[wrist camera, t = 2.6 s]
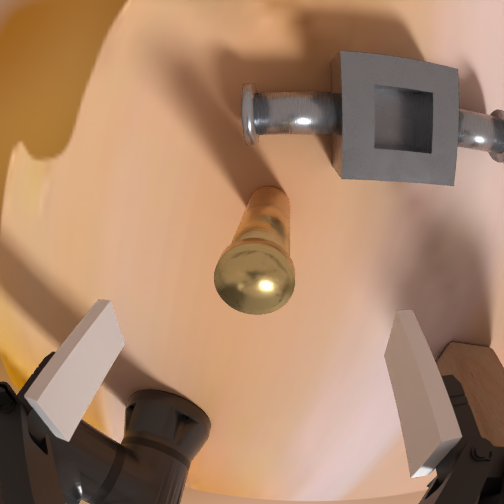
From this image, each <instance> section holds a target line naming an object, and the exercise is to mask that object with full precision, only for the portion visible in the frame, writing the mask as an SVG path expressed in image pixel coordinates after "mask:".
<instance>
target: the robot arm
mask: <svg viewBox="0 0 504 504" xmlns="http://www.w3.org/2000/svg"><path fill="white" fill-rule="evenodd" d="M124 345H125V340H124V338H123V335H122V332H121V329H120V327H119V324H118V321H117V318H116V315H115V312H114V309H113V306H112V303H111V301H109V300H99V299H98V300H97V302H96V303H95V304H94V305H93V306H92V308H91V309H90V310H89V311H88V312H87V314H86V315H85V316H84V317H83V319H82V320H81V321H80V322H79V323H78V325H77V326H76V327H75V328H74V330H73V331H72V332H71V333H70V335H69V336H68V337H67V338H66V340H65V341H64V342H63V344H62V345H61V346H60V347H59V349H58V350H57V351H56V352H52V353H50V354H49V355H48V356H46V357H45V358H44V359H43V361H42V362H41V363H40V364H39V367H37V368H36V370H35V371H34V374H32V375H31V376H30V378H29V379H28V381H27V382H26V383H25V385H24V386H23V387H22V389H21V390H20V392H19V393H18V394H17V395H16V394H15V392H14V391H13V390H12V388H11V387H10V385H9V384H8V383H7V382H0V504H79V502H80V500H84V501H86V502H88V503H90V504H180V502H181V497H182V494H183V490H184V487H185V483H186V479H187V475H188V471H189V467H190V464H191V461H192V460H193V459H194V457H195V456H196V454H197V453H198V452H199V450H200V449H201V448H202V446H203V445H204V443H205V442H206V441H207V439H208V437H209V433H210V429H211V423H210V420H209V418H208V417H207V415H206V414H205V413H204V412H203V411H202V410H201V409H199V408H198V407H197V406H195V405H194V404H192V403H191V402H189V401H187V400H185V399H183V398H181V397H178V396H176V395H173V394H170V393H166V392H162V391H156V390H142V391H138V392H136V393H134V394H133V395H132V396H131V397H130V399H129V401H128V404H127V406H126V410H125V426H124V438H123V440H122V442H121V444H119V443H118V442H116V441H115V440H113V439H111V438H110V437H108V436H107V435H105V434H103V433H102V432H100V431H99V430H97V429H96V428H94V427H93V426H91V425H90V424H88V423H87V422H85V421H84V420H82V417H83V415H84V413H85V411H86V410H87V408H88V406H89V404H90V403H91V401H92V399H93V397H94V396H95V394H96V392H97V390H98V389H99V387H100V385H101V383H102V382H103V380H104V378H105V377H106V375H107V373H108V371H109V370H110V368H111V366H112V365H113V363H114V361H115V360H116V358H117V356H118V355H119V353H120V351H121V350H122V348H123V346H124ZM384 357H385V360H386V364H387V368H388V372H389V376H390V380H391V384H392V388H393V392H394V396H395V400H396V405H397V409H398V413H399V418H400V423H401V428H402V432H403V437H404V443H405V448H406V453H407V459H408V465H409V471H410V477H411V478H414V477H419V476H424V475H429V474H430V473H431V472H432V471H433V470H434V469H435V468H436V472H437V476H436V477H435V478H434V479H433V480H432V481H431V482H430V483H429V484H428V485H427V487H429V489H428V490H427V492H426V494H425V495H424V497H423V498H422V500H421V501H420V503H419V504H504V447H497V446H493V445H492V443H491V442H490V441H489V440H487V439H486V438H482V437H481V435H480V432H479V429H478V427H477V424H476V421H475V418H474V415H473V413H472V410H471V407H470V405H469V404H468V400H467V397H466V396H465V392H464V390H463V387H462V385H461V383H460V382H459V381H458V380H457V379H456V378H455V376H454V375H453V374H452V375H445V376H441V375H440V372H439V370H438V367H437V365H436V362H435V360H434V357H433V355H432V352H431V350H430V348H429V345H428V343H427V341H426V338H425V336H424V334H423V332H422V329H421V327H420V325H419V323H418V320H417V318H416V316H415V314H414V312H413V310H397V311H396V315H395V319H394V323H393V327H392V330H391V334H390V338H389V341H388V345H387V348H386V351H385V355H384Z"/></svg>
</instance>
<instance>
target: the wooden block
mask: <svg viewBox="0 0 504 504" xmlns="http://www.w3.org/2000/svg"><path fill="white" fill-rule="evenodd" d="M436 365H437V367H438V370H439V372H440V375H441V376H445V375H452V374H453V375H454V376H455V378H456V379H457V380H458V381H459V382H460V383H461V385H462V387H463V390H464V392H465V396H466V397H467V400H468V404H469V405H470V407H471V410H472V413H473V415H474V418H475V421H476V424H477V427H478V429H479V432H480V435H481V437H482V438H486V439H487V440H489V441H490V442H491V443H492V445H493V446H497V447H504V368H503V366H502V364H501V362H500V361H499V359H498V357H497V355H496V354H495V352H494V350H493V349H492V348H490V347H485V346H478V345H471V344H465V343H458V342H452V343H450V344H449V345H448V346H447V347H446V349H445V350H444V352H443V353H442V354H441V356H440V357H439V359H438V360H437V361H436Z"/></svg>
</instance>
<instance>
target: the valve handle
mask: <svg viewBox="0 0 504 504" xmlns="http://www.w3.org/2000/svg"><path fill="white" fill-rule="evenodd" d="M214 283H215V287H216V290H217V292H218V294H219V295H220V297H221V298H222V299H223V300H224V301H225V302H226V303H227V304H228V305H229V306H231V307H232V308H234V309H236V310H238V311H240V312H243V313H247V314H254V315H260V314H267V313H271V312H273V311H276V310H278V309H279V308H281V307H282V306H283V305H285V304H286V303H287V301H288V300H289V299H290V297H291V296H292V293H293V291H294V286H295V269H294V265H293V262H292V259H291V258H290V202H289V199H288V197H287V195H286V194H285V193H284V192H283V191H282V190H280V189H278V188H276V187H272V186H266V187H262V188H260V189H258V190H256V191H255V192H254V193H253V194H252V196H251V198H250V200H249V202H248V205H247V207H246V210H245V212H244V214H243V217H242V219H241V222H240V224H239V226H238V229H237V231H236V234H235V236H234V238H233V241H232V243H231V245H230V246H229V247H227V248H226V249H225V251H224V252H223V253H222V255H221V257H220V259H219V261H218V264H217V266H216V268H215V272H214Z"/></svg>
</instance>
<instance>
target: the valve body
mask: <svg viewBox="0 0 504 504" xmlns="http://www.w3.org/2000/svg"><path fill="white" fill-rule="evenodd" d="M331 79H332V92H257V88H256V85H255V83H247V84H244V85H243V88H242V101H241V107H242V124H243V133H244V138H245V142H246V144H247V145H252V144H258V141H259V135H268V134H319V135H333V163H332V166H333V168H334V169H335V170H336V172H337V173H338V174H339V176H340V177H341V179H357V180H379V181H397V182H412V183H425V184H437V185H448V186H454V179H455V170H456V159H457V146H458V147H464V148H470V149H476V150H481V151H487V152H489V154H490V156H491V157H492V159H493V160H495V161H497V162H501V163H504V111H502V110H495V111H493V112H492V113H491V114H490V115H487V114H483V113H479V112H475V111H471V110H466V109H462V108H459V83H458V69H455V68H451V67H447V66H443V65H438V64H434V63H429V62H424V61H419V60H413V59H408V58H401V57H395V56H388V55H380V54H372V53H362V52H351V51H339V53H338V54H337V55H336V56H335V57H334V58H333V59H332V60H331Z"/></svg>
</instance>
